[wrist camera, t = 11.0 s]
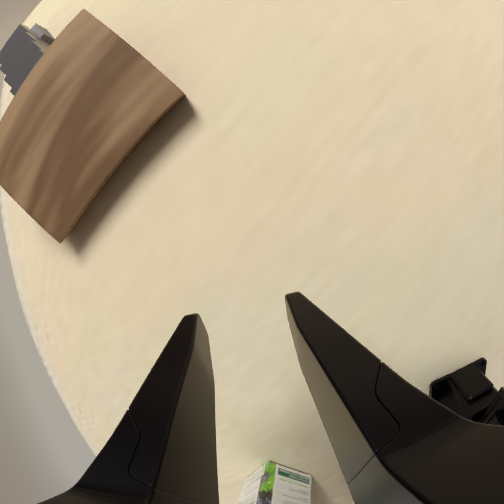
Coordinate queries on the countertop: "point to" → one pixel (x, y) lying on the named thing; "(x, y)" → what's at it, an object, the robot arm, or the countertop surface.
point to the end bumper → (43, 34)
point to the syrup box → (276, 486)
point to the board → (78, 121)
